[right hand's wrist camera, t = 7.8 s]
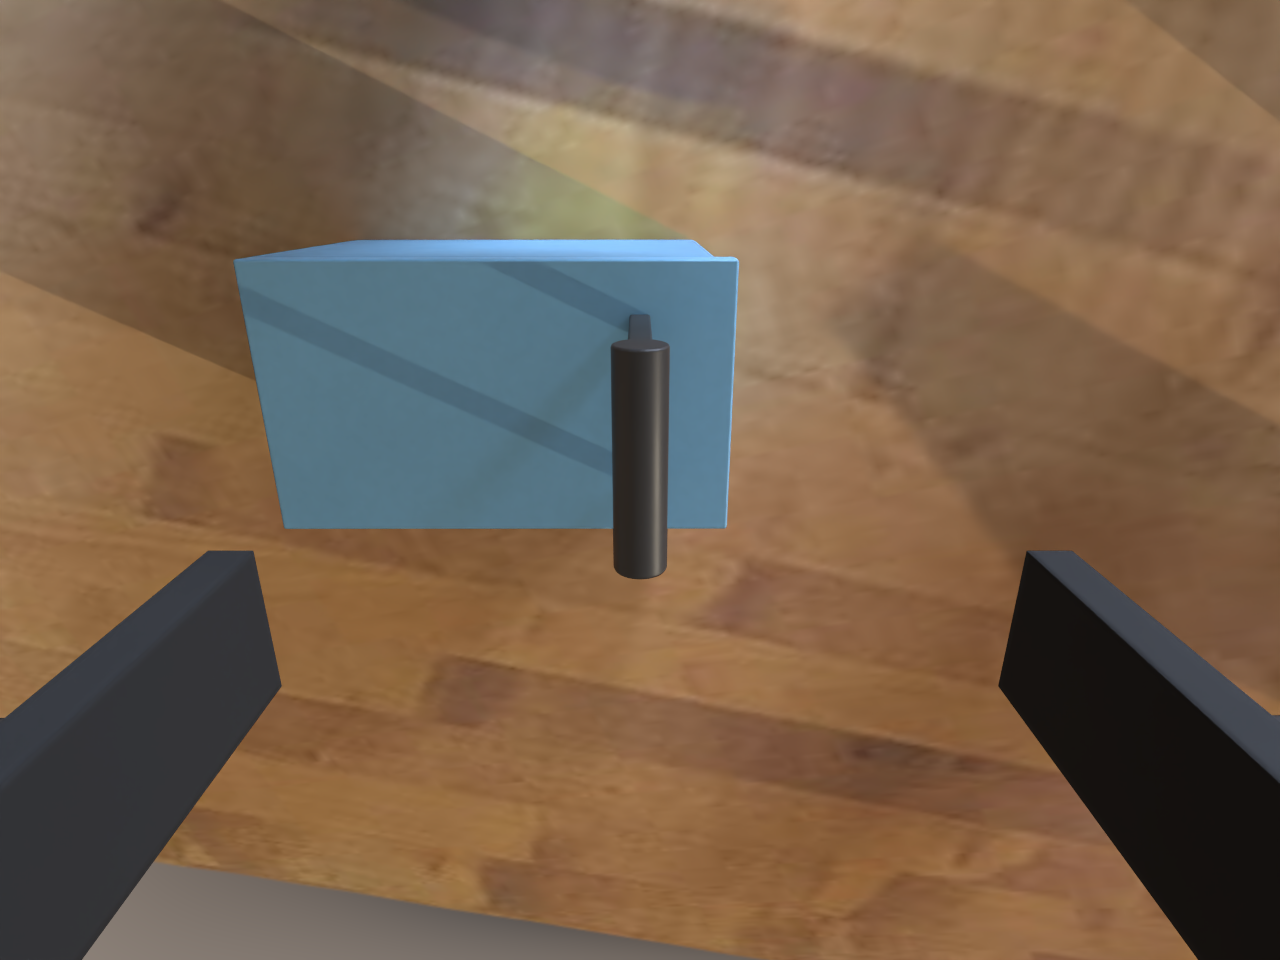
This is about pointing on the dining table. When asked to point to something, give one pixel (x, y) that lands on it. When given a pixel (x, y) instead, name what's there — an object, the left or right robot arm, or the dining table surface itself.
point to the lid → (498, 393)
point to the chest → (502, 248)
